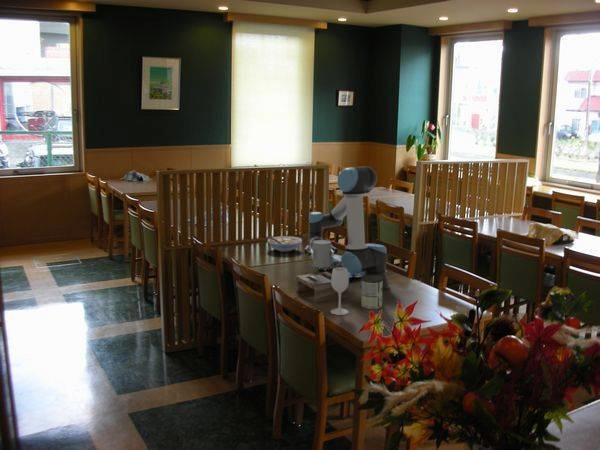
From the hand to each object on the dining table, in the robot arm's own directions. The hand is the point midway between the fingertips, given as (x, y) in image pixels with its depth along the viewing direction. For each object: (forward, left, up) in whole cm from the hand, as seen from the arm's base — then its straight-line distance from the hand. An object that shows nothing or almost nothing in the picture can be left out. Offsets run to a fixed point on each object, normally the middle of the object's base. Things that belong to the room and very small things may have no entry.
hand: (322, 255), depth 317 cm
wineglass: (-21, +14, -22) cm, 33 cm away
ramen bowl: (+79, -61, -22) cm, 102 cm away
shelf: (+3, -3, -22) cm, 22 cm away
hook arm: (+3, -3, -16) cm, 16 cm away
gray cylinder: (+3, -3, -7) cm, 8 cm away
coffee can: (-27, -4, -22) cm, 35 cm away
